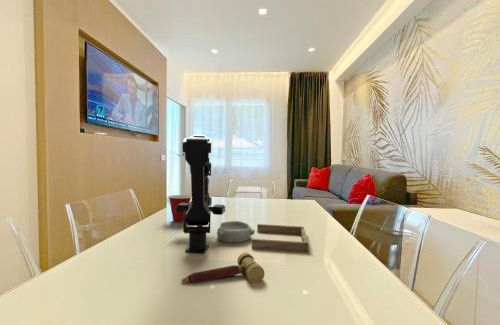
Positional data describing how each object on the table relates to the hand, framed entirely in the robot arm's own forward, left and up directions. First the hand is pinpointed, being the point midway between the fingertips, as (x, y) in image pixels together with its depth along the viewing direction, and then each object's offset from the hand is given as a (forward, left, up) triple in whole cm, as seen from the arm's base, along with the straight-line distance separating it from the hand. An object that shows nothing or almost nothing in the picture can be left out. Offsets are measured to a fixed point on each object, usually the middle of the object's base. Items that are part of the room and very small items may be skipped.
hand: (200, 230), depth 107 cm
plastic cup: (+19, +16, -2) cm, 25 cm away
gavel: (-33, -16, -3) cm, 37 cm away
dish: (0, -14, -2) cm, 14 cm away
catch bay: (0, -31, -2) cm, 31 cm away
